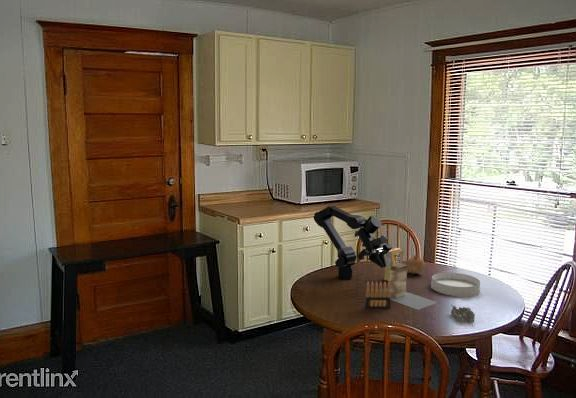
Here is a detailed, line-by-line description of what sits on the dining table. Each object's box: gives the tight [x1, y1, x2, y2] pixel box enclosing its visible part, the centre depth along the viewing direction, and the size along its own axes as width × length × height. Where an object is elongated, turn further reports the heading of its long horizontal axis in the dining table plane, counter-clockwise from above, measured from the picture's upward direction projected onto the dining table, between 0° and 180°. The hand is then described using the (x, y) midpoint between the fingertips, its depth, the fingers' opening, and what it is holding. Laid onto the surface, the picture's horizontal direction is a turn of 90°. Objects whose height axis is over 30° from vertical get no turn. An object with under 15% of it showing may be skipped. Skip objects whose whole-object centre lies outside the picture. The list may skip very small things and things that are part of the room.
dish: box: [430, 272, 481, 298], centre depth 248 cm, size 22×22×5 cm
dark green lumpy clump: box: [450, 304, 476, 324], centre depth 213 cm, size 11×8×4 cm
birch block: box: [390, 263, 408, 298], centre depth 236 cm, size 4×6×14 cm
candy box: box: [383, 247, 404, 283], centre depth 260 cm, size 9×4×15 cm, turn 129°
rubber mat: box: [382, 287, 438, 311], centre depth 235 cm, size 26×14×1 cm, turn 39°
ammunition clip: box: [364, 280, 391, 310], centre depth 222 cm, size 11×2×12 cm, turn 90°
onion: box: [405, 254, 426, 275], centre depth 270 cm, size 10×9×10 cm
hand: (384, 267), depth 242 cm, fingers closed
